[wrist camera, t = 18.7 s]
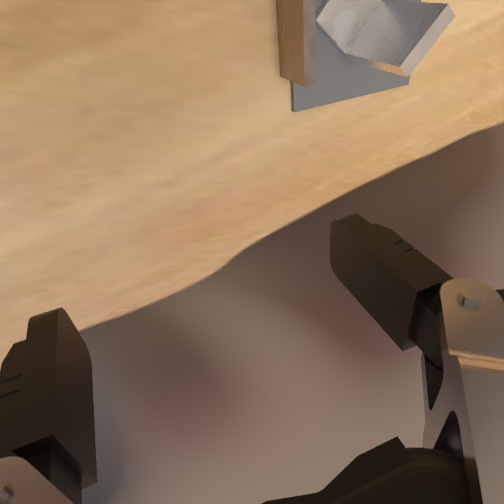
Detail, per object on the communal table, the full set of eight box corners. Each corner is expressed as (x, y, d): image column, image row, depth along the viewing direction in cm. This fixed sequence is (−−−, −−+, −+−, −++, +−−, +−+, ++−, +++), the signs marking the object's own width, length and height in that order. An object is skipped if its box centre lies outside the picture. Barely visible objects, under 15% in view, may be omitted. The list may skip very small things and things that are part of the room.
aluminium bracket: (311, 19, 38) (369, 28, 30) (349, -38, 36) (421, -44, 29) (347, 60, 42) (407, 77, 34) (383, 10, 40) (455, 16, 33)
